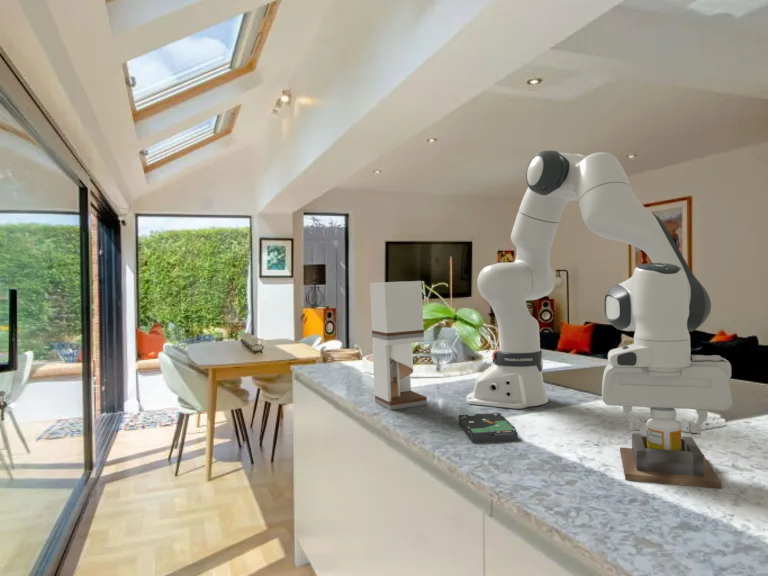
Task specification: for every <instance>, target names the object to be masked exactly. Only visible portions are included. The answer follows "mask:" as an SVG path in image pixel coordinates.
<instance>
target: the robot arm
mask: <svg viewBox="0 0 768 576" xmlns="http://www.w3.org/2000/svg"><path fill="white" fill-rule="evenodd" d="M525 172H526V173H525V174H526V175H525V179H526V181H525V182H526V184H527V189H526V191H525V193H524V196H523V198H522V200H521V203H520V206H519V208H518V212H517V214H516V217H515V221H514V224H513V227H512V230H511V233H510V240H511V243H512V244H513V245H514V247H516V255H515V260H514V261H513V262H511V261H510V262H497V263H493V264H490V265H487V266H485V267H483V268H482V269H481V270H480V272H479V274H478V276H477V282H476V286H477V290H478V293H479V294H480V296H481V297H482V298H483V299H484V300H486V302H488V304H489V305H490V307H491V309H492V312H493V314H494V316H495V319H496V323H497V328H498V329H497V330H498V342H499V349H495V350H494V351H493V353H492V364H491V365H490V366H488V368H486V369H485V370H484V371H482V372H481V373H480V374H479V375H478V376H477V377H476V379H475V381H474V386H473V391H472V392H470V393H468V394H467V395H466V397H465V398H466V399H465V401H466V403H467V404H469V405H478V406H488V407H497V408H505V409H506V408H507V409H516V410H517V409H519V410H520V409H525V408H529V407H536V406H542V405H545V404H547V403H548V402H549V399H548V396H547V392H546V389H545V388H546V387H545V384H544V378H543V368H544V360H543V359H544V358H543V357H544V356H543V351H542V350H541V343H540V342H541V338H540V337H541V336H540V324H539V321H538V320H537V319H536V318H535V317H534V316H532V315H531V313H530V311H529V309H528V304H527V301H535V300H538V299H541V298H544V297H547V296H548V295H550V294H551V293H552V292H553V291H554V288H555V286H556V275H555V273H554V270H553V269H552V267H551V251H552V246H553V243H554V239H555V238H556V234H557V231H558V228H559V225H560V222H561V218H562V216H563V213H564V209H565V207H566V205H567V204H568V203H569V202H572V201H573V202H574V201H576V202H577V203H578V206H579V211H580V214H581V218H582V220H583V222H584V224H585V226H586V227H587V229H588V230H589V231H591V233H593V234H595V235H596V236H598V237H601V238H604V239H607V240H611V241H617V242H620V243H624V244H627V245H630V246H633V247H635V248H638V249H639V250H641V251H642V252H644V253H645V254H646V255H647V256H648V258H649V260H650V261H651V262H647V263H642V264H639V265H638V266H636V267H635V268H634V270H633V273H632V275H631V277H629V278H628V279H626V280H625V281H622V282H620V283H616V284H613V286H612V287H611V288H610V289H609V290H608V292H607V293H606V294H605V296H604V315H605V319H606V320H607V322H608V323H610V325H612V326H613V327H614V328H615V329H617V330H620V331H625V332H634V334H633V343H630V344H627V345H623V346H620V347H617V348H612V349H610V350H609V351H608V353H607V360H608V364H606V366H605V368H604V371H603V375H602V382H601V383H602V384H601V400H602V402H603V403H604V404H605V405H607V406H614V407H615V406H616V407H622V409H623V412H624V413H623V414H625V416H626V417H627V419H628V421H629V428H630V431H632V432H640V431H641V429H640V428H641V427H640V420H639V419H637V418H634V417H633V415H632V414H631V413H633V407H634V408H635V407H640V408H651V407H657V408H674V409H682V410H695V412H696V413H697V416H696V418H695V420H694V421H688V427H689V428H688V431H689V432H688V433H690V435H696V436H700V435H702V434H701V433H702V431H701V429H702V428H701V427H702V425H703V424H704V422H705V421H706V420H707V418H708V415H709V414H708V411H724V412H725V411H728V410H729V409H730V408H731V407H732V406H733V400H732V392H731V388H730V383H729V381H730V379H731V378H732V364H731V363H730V361H729V360H727V359H726V358H725V357H722V356H721V355H718V354H717V355H716V354H711V355H704V354H691V352H692V351H691V335H690V332H693V331H695V330H697V329H698V328H699V327H701V325H703V324H704V323H705V321H706V320H707V319H708V317H709V316H710V314H711V310H712V302H711V298H710V294H709V293H708V291H707V290H706V288H705V287H704V286H703V284H702V283H701V282H700V281H699V280H698V279H697V277H696V276H695V275H694V273H693V272H692V270H691V269H690V266H689V265H688V264H687V262H686V260H685V258H684V256H683V255H682V252H681V251H680V249H679V248H678V246H677V243H676V241H675V240H674V238H673V237H672V235H671V233H670V232H669V230H668V229H667V227H666V225H665V223H664V222H663V221H662V219H661V218H660V217H659V216H658V215H656V214H654V213H653V212H651V211H650V210H649V209H647V208H646V207H645V206H644V205H643V204H642V203H641V202H640V201H639V199H638V198H637V196H636V194H635V193H634V191H633V188H632V185H631V182H630V180H629V178H628V175H627V174H626V171H625V170H624V168H623V166H622V164H621V163H620V161H619V160H618V158H617V157H616V156H615V155H613V154H612V153H609V152H605V151H603V152H602V151H600V152H599V151H598V152H594V153H591V154H589V155H584V154H581V153H572V152H571V153H569V152H558V151H556V150H541V151H539V152H537V153H536V154H534V156H533V157H532V158H531V159H530V161H529V163H528V164H527V169H526V171H525Z"/></svg>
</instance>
